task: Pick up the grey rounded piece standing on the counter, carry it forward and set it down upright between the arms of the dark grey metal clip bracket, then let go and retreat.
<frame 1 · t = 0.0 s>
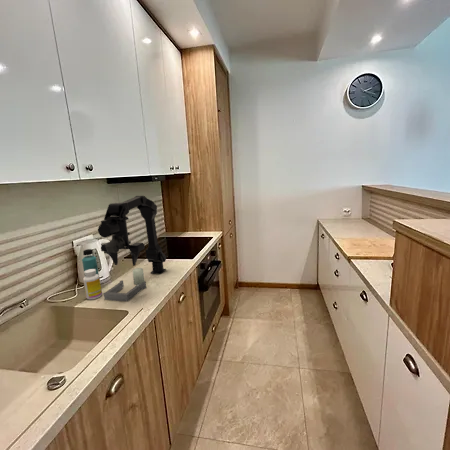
hand: (125, 265, 117), 15 cm above the countertop, fingers open, 9 cm apart
beverage bottle: (93, 288, 130), on the countertop
supplement bottle: (94, 297, 121), on the countertop
grey rounded piece: (139, 282, 134), on the countertop
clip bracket: (125, 293, 122), on the countertop
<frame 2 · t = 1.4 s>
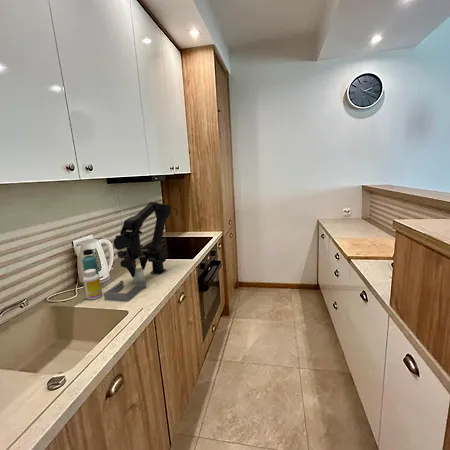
hand: (138, 273, 133), 5 cm above the countertop, fingers open, 9 cm apart
nothing on the countertop moved.
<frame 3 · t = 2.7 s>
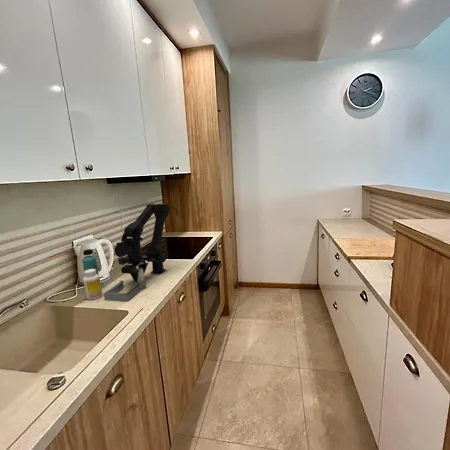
hand: (139, 279, 133), 2 cm above the countertop, fingers closed on grey rounded piece, 5 cm apart
grey rounded piece: (139, 282, 134), on the countertop, touching gripper
everything else where it was.
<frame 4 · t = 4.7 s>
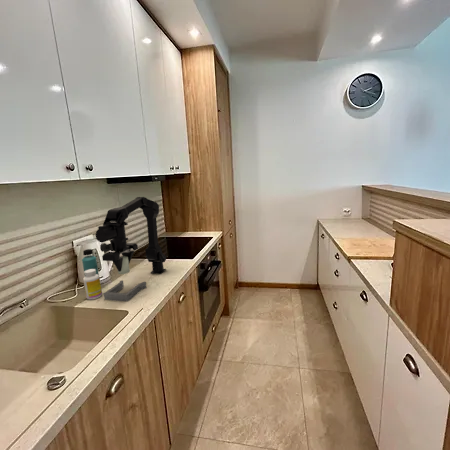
hand: (123, 269, 121), 12 cm above the countertop, fingers closed on grey rounded piece, 5 cm apart
grey rounded piece: (123, 272, 121), point 10 cm above the countertop, touching gripper
everything else where it was.
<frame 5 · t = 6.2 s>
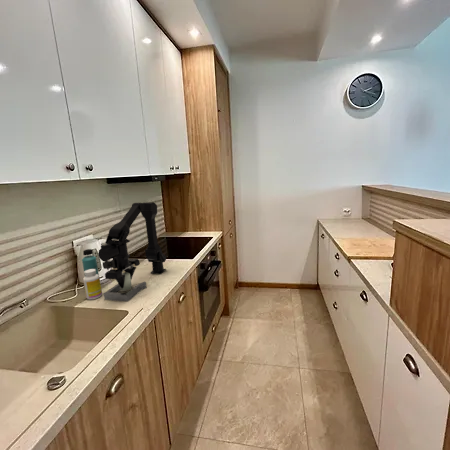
hand: (125, 285, 122), 4 cm above the countertop, fingers closed on grey rounded piece, 5 cm apart
grey rounded piece: (126, 288, 123), point 2 cm above the countertop, touching gripper
everything else where it was.
when the fingers open (3 cm above the countertop, at t = 7.0 s): grey rounded piece drops 2 cm, resting on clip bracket.
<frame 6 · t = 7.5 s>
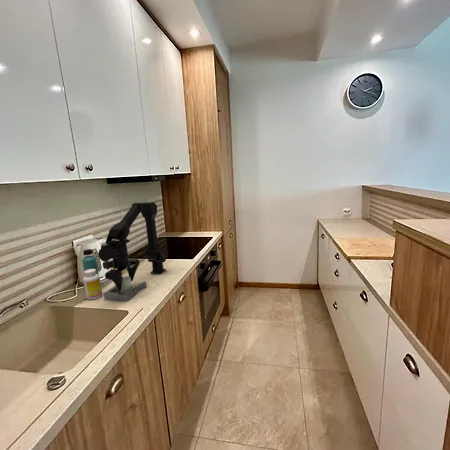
hand: (125, 285, 122), 3 cm above the countertop, fingers open, 9 cm apart
grey rounded piece: (126, 292, 123), resting on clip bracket
everything else where it was.
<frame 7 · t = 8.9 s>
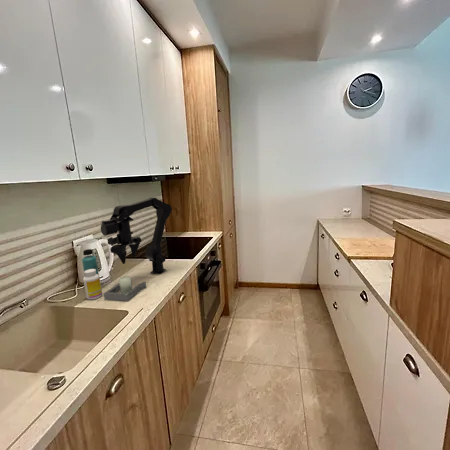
hand: (129, 260, 132), 12 cm above the countertop, fingers open, 9 cm apart
nothing on the countertop moved.
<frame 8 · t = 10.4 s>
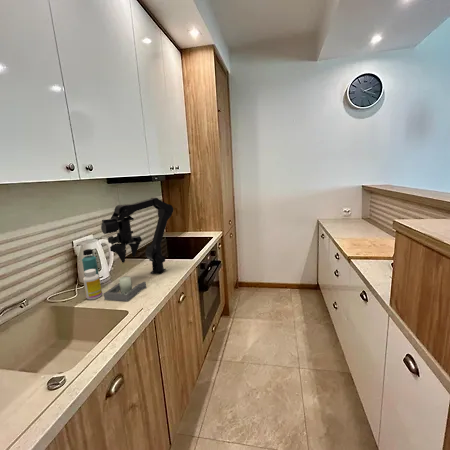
hand: (128, 259, 133), 12 cm above the countertop, fingers open, 9 cm apart
nothing on the countertop moved.
at the end: grey rounded piece inside the target area on the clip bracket (1.2 cm from its centre), point 0.0 cm above the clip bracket's base; grey rounded piece tilted 0°; the gripper is holding nothing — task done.
